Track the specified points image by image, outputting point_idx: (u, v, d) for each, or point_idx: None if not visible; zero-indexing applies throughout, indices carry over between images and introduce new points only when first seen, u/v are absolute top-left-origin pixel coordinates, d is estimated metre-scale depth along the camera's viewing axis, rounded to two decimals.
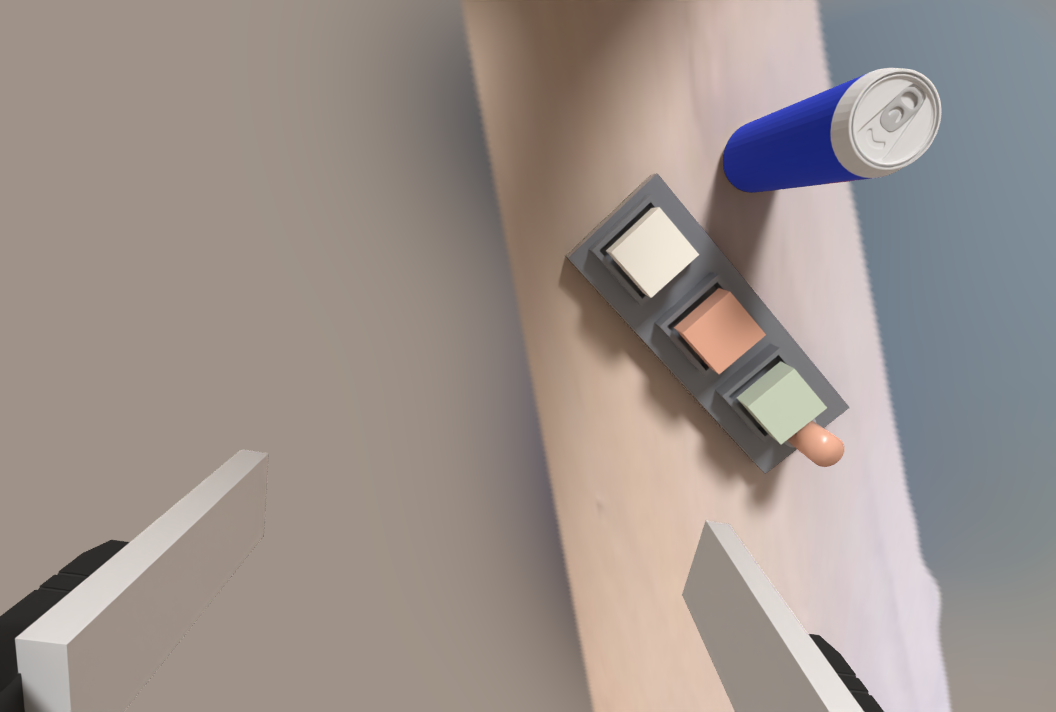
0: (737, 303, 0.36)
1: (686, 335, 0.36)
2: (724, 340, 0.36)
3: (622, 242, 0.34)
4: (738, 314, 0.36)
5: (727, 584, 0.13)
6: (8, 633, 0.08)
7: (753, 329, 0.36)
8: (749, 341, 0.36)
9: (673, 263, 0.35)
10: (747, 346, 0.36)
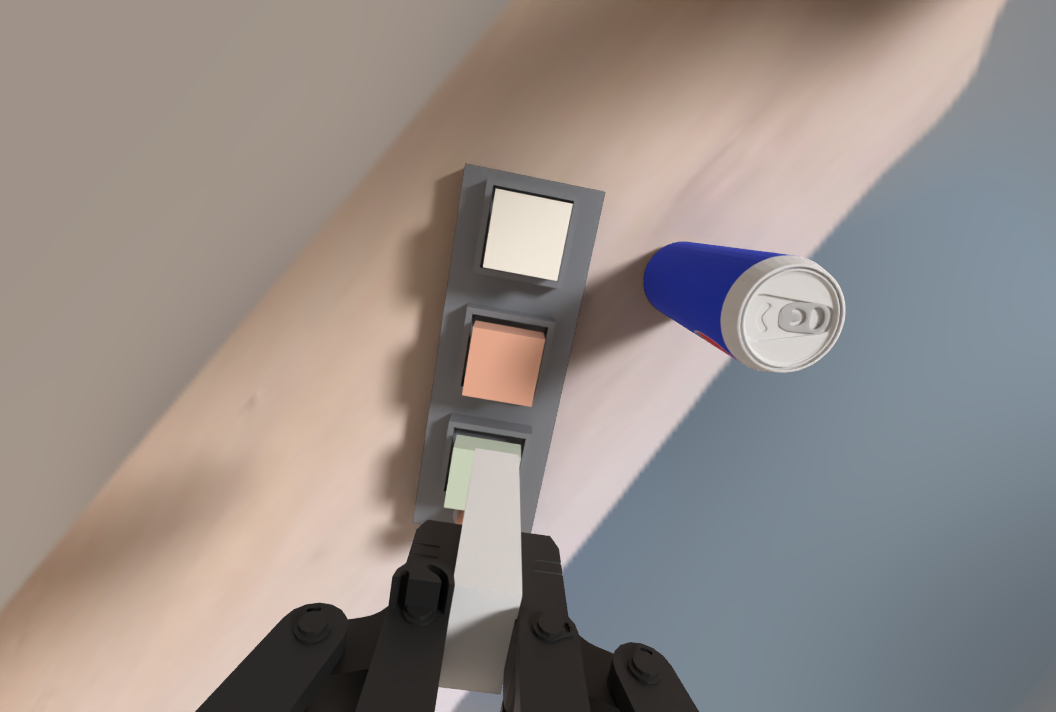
0: (539, 356, 0.30)
1: (474, 332, 0.30)
2: (497, 372, 0.30)
3: (513, 193, 0.28)
4: (530, 365, 0.30)
5: None
6: None
7: (527, 391, 0.31)
8: (514, 397, 0.31)
9: (531, 263, 0.29)
10: (508, 399, 0.31)
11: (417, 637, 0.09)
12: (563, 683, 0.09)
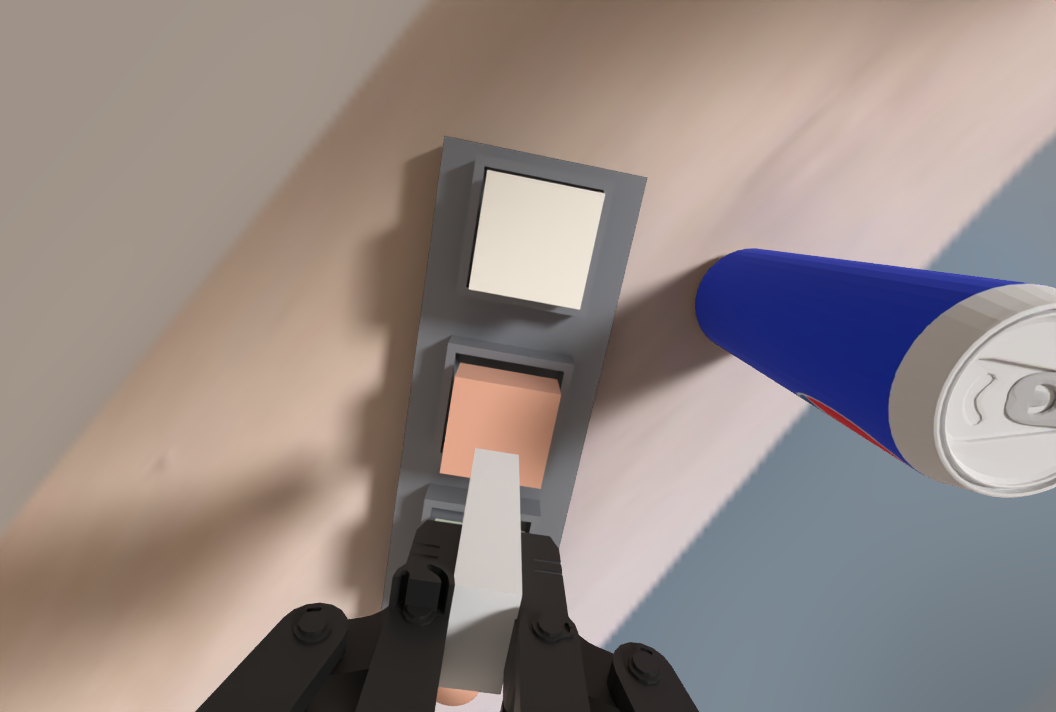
0: (553, 417, 0.21)
1: (456, 384, 0.20)
2: (490, 441, 0.21)
3: (515, 176, 0.18)
4: (539, 431, 0.21)
5: None
6: None
7: (534, 467, 0.21)
8: None
9: (541, 283, 0.19)
10: None
11: (417, 637, 0.09)
12: (563, 683, 0.09)
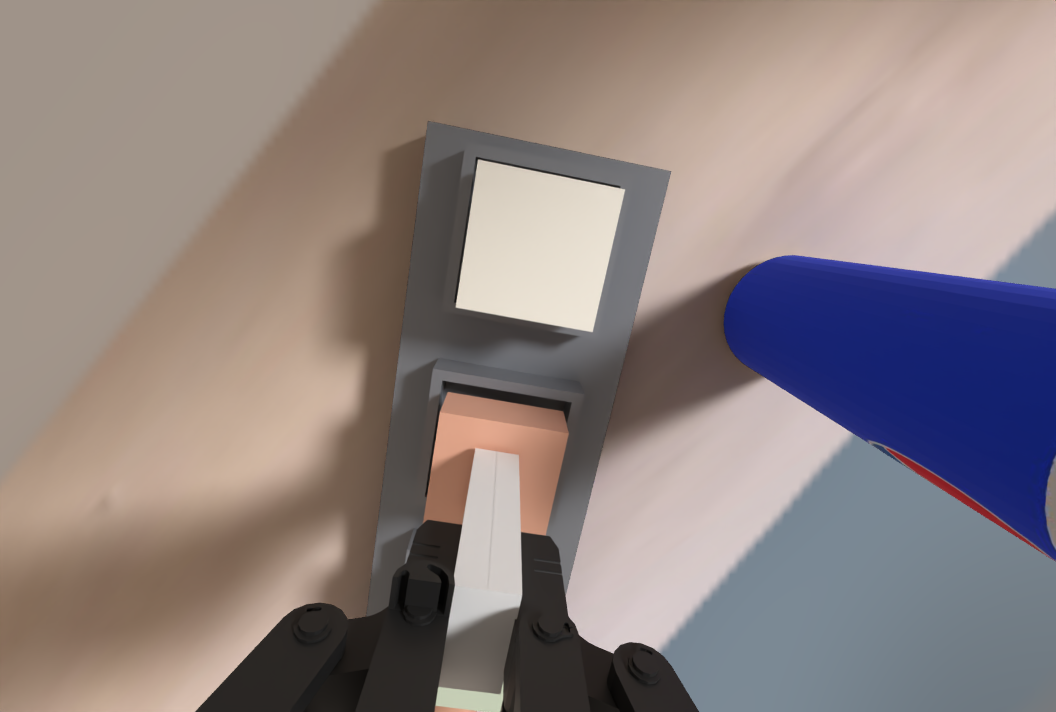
0: (558, 460, 0.17)
1: (441, 421, 0.17)
2: None
3: (512, 168, 0.14)
4: (542, 477, 0.17)
5: None
6: None
7: (537, 518, 0.18)
8: None
9: (544, 300, 0.15)
10: None
11: (417, 637, 0.09)
12: (563, 683, 0.09)
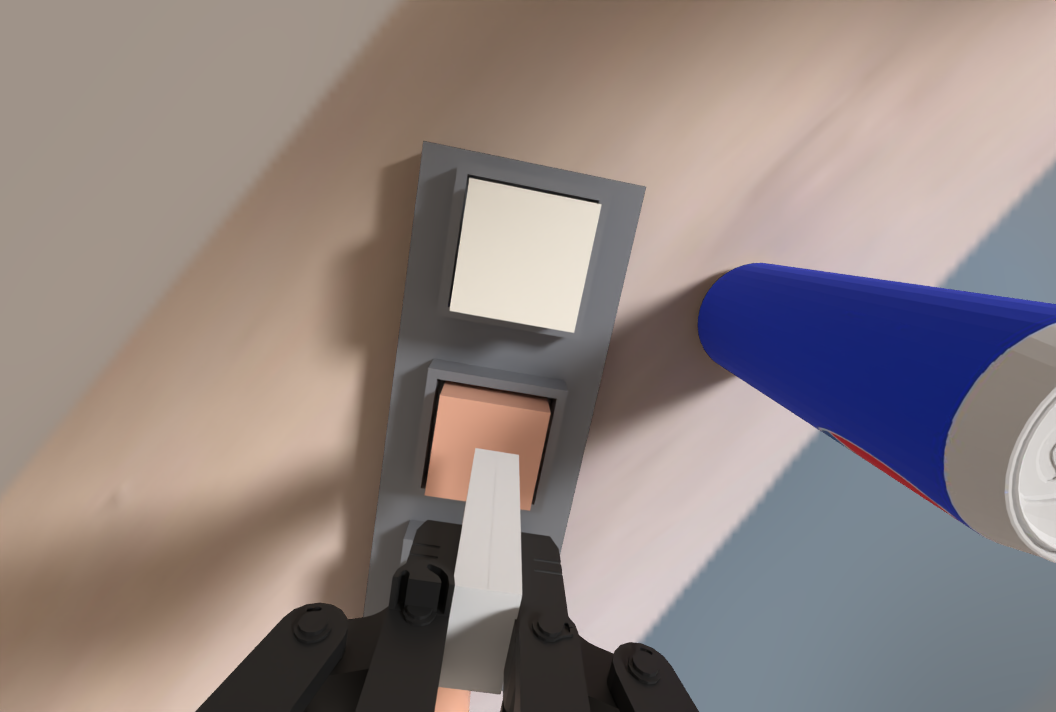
0: (542, 437, 0.20)
1: (441, 403, 0.19)
2: None
3: (500, 185, 0.16)
4: (528, 451, 0.20)
5: None
6: None
7: (523, 488, 0.20)
8: None
9: (530, 303, 0.17)
10: None
11: (417, 637, 0.09)
12: (563, 683, 0.09)
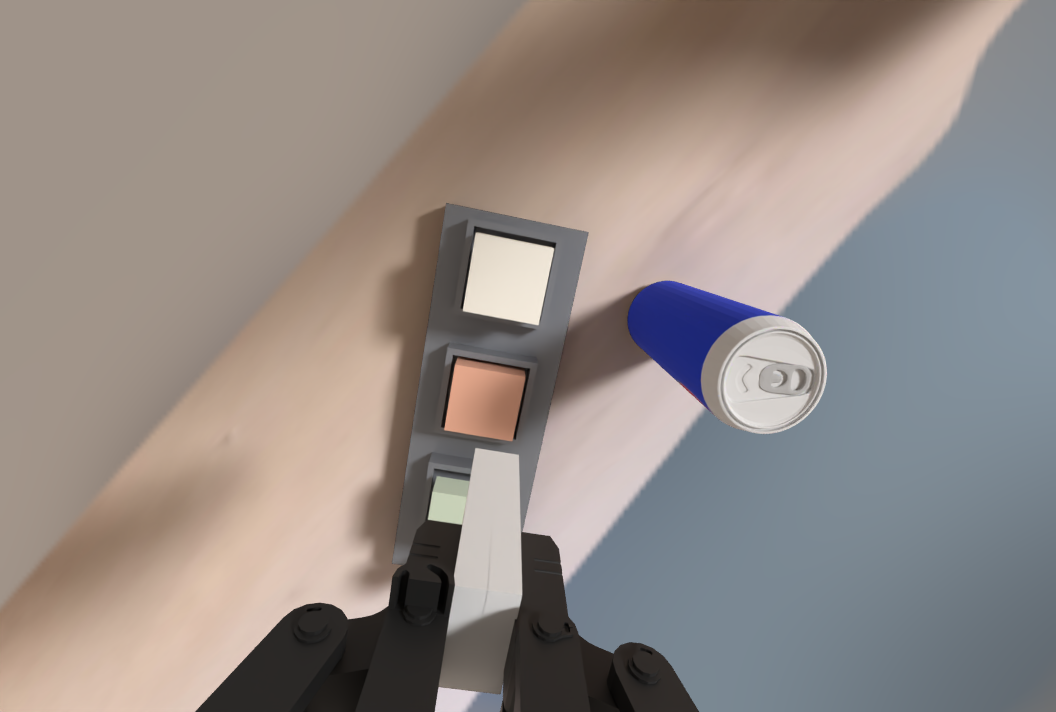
0: (520, 392, 0.31)
1: (456, 369, 0.30)
2: (478, 408, 0.31)
3: (494, 237, 0.27)
4: (511, 402, 0.31)
5: None
6: None
7: (508, 426, 0.31)
8: (495, 431, 0.31)
9: (511, 307, 0.28)
10: (489, 433, 0.31)
11: (417, 637, 0.09)
12: (563, 683, 0.09)
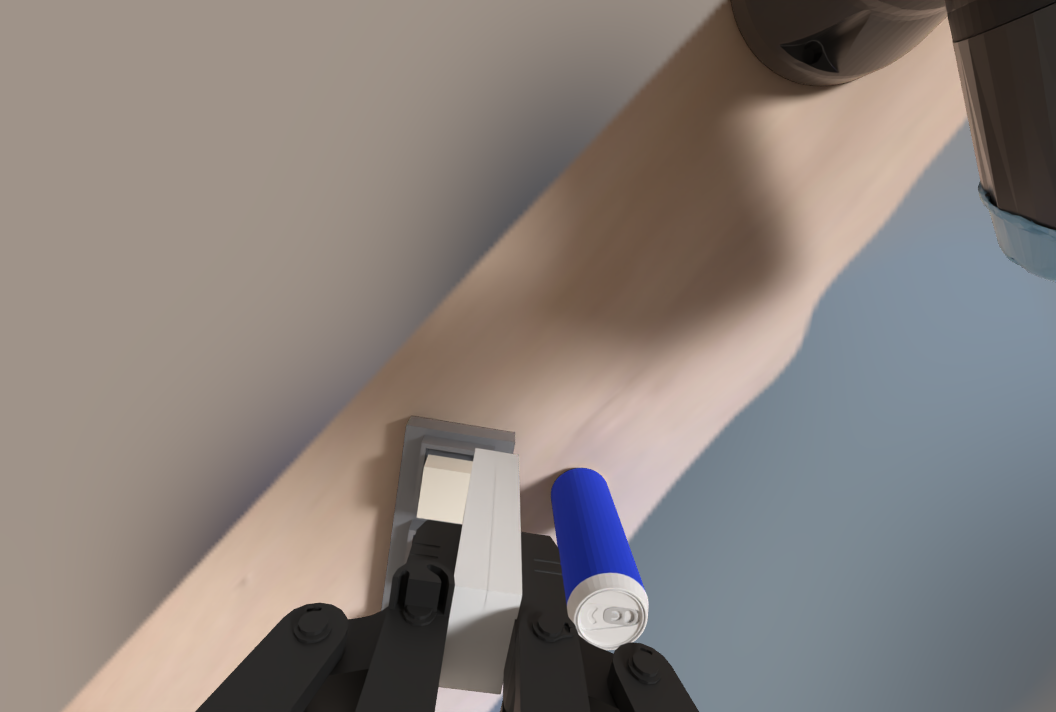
0: None
1: None
2: None
3: (437, 468, 0.37)
4: None
5: None
6: None
7: None
8: None
9: (452, 514, 0.38)
10: None
11: (417, 637, 0.09)
12: (563, 683, 0.09)
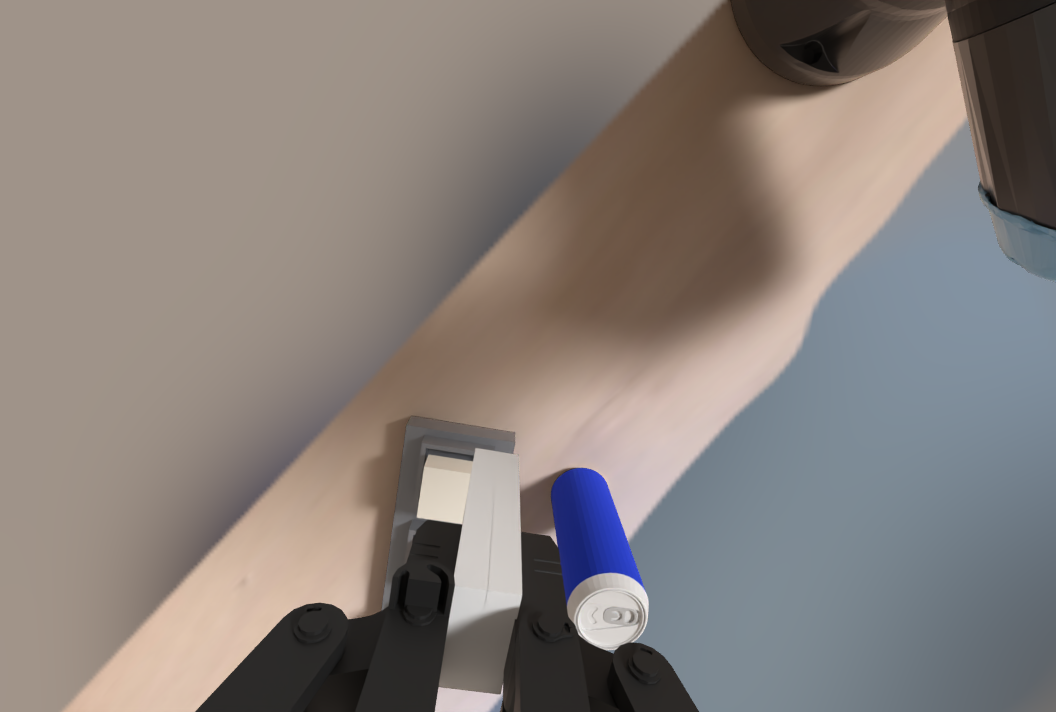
0: None
1: None
2: None
3: (437, 468, 0.37)
4: None
5: None
6: None
7: None
8: None
9: (452, 514, 0.38)
10: None
11: (417, 637, 0.09)
12: (563, 683, 0.09)
